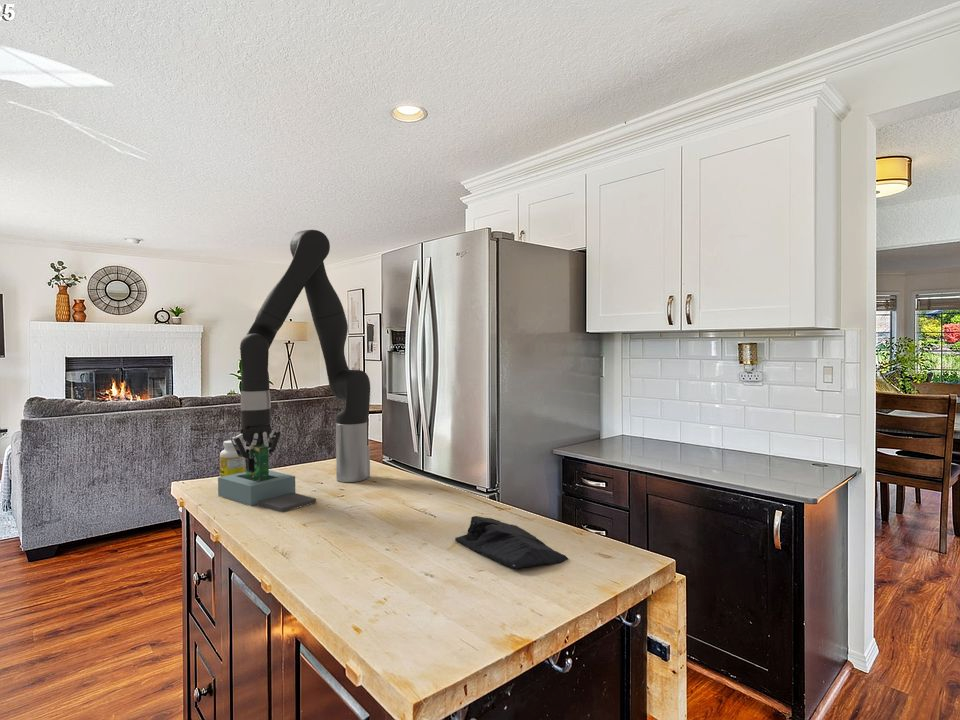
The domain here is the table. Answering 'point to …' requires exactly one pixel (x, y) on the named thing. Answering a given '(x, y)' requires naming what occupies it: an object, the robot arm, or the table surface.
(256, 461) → the coffee box
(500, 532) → the black cloth
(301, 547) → the table surface
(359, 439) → the robot arm
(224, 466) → the supplement bottle
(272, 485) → the box
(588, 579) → the table surface
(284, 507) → the rubber mat
